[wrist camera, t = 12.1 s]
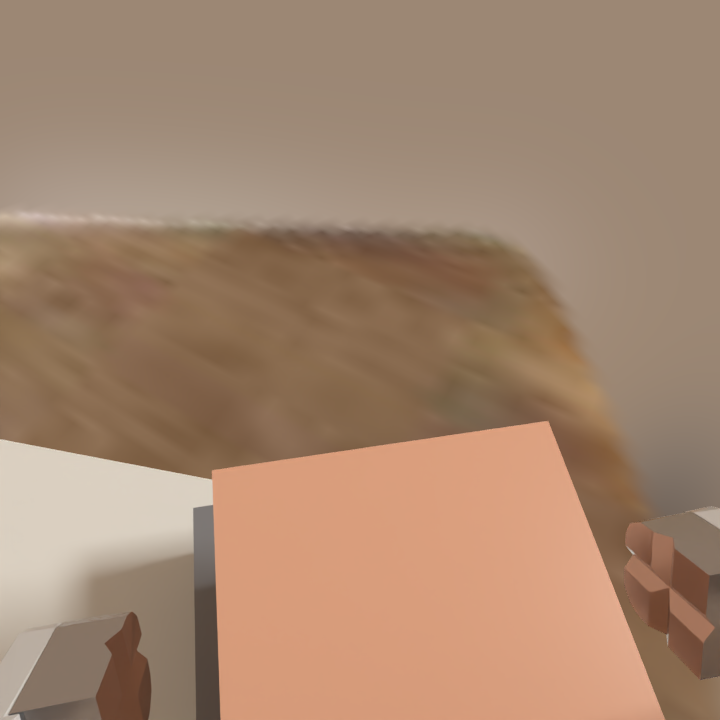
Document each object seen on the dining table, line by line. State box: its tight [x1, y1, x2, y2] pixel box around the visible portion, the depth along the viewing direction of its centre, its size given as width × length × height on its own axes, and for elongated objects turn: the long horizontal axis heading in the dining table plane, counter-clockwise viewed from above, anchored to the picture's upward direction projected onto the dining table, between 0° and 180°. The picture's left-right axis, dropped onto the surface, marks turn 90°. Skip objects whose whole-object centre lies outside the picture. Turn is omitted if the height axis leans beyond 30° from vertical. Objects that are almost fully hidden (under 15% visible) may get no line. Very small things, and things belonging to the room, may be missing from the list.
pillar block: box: [212, 421, 665, 720], centre depth 10 cm, size 5×5×8 cm
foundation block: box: [193, 505, 221, 720], centre depth 15 cm, size 9×9×5 cm
